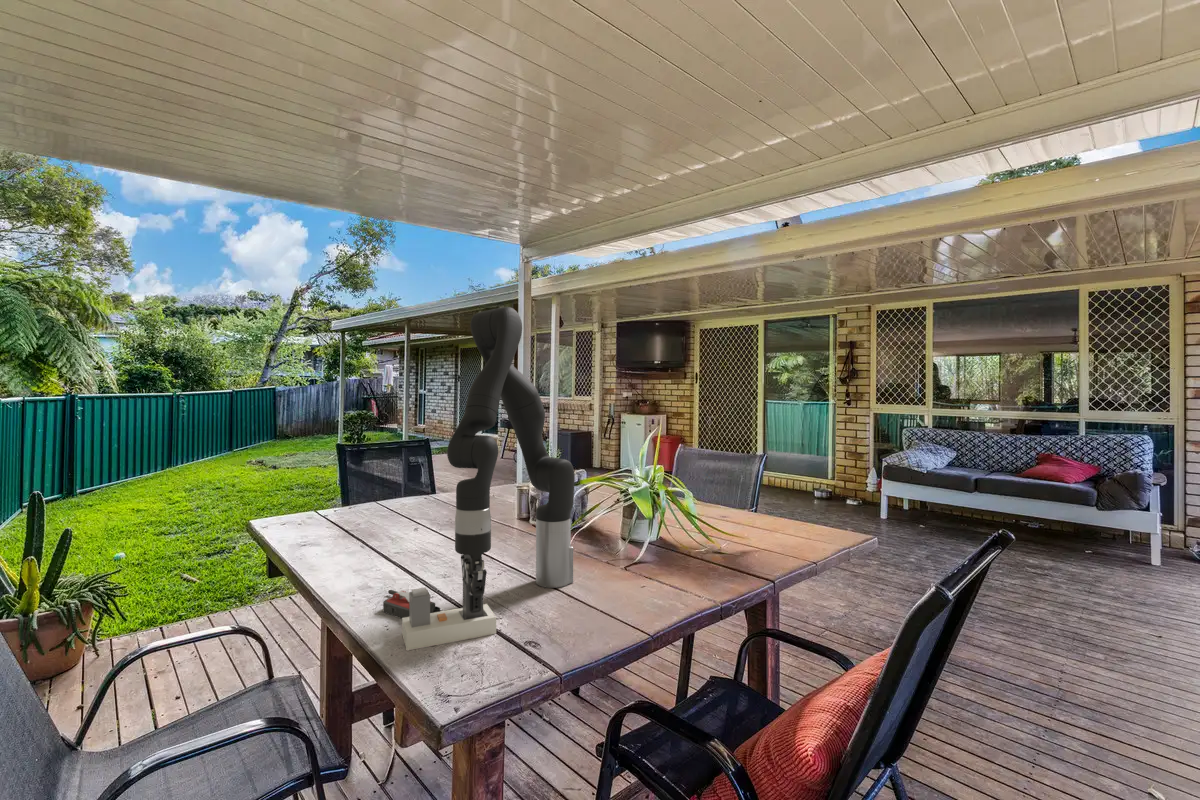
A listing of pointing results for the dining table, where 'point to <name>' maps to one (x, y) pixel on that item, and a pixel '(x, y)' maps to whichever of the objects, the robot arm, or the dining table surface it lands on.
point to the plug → (466, 603)
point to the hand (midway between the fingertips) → (473, 608)
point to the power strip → (441, 623)
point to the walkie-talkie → (401, 604)
